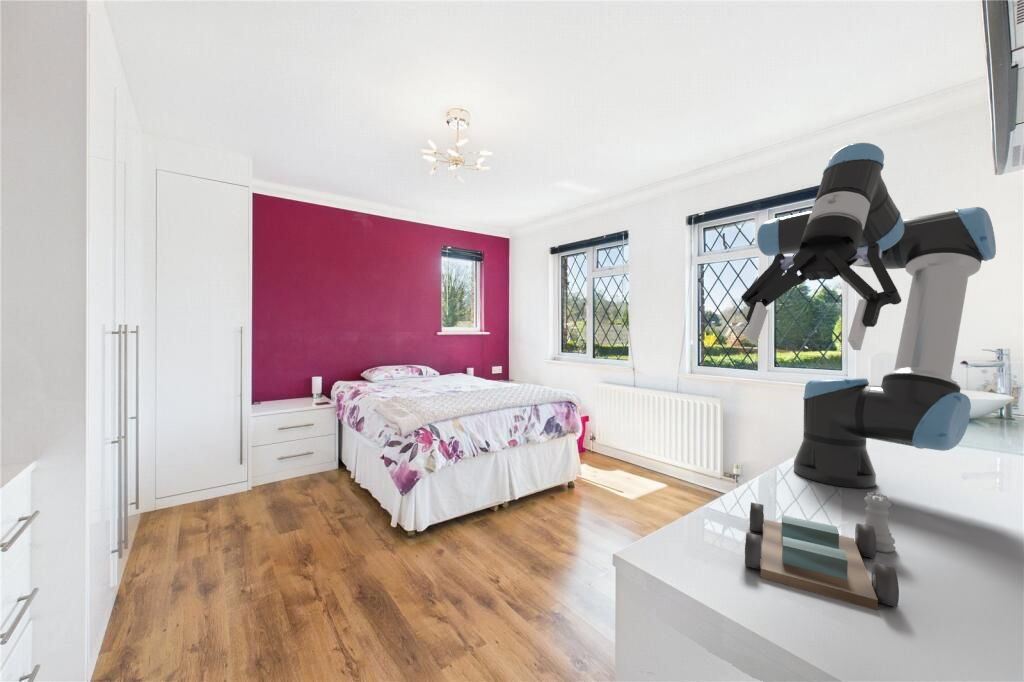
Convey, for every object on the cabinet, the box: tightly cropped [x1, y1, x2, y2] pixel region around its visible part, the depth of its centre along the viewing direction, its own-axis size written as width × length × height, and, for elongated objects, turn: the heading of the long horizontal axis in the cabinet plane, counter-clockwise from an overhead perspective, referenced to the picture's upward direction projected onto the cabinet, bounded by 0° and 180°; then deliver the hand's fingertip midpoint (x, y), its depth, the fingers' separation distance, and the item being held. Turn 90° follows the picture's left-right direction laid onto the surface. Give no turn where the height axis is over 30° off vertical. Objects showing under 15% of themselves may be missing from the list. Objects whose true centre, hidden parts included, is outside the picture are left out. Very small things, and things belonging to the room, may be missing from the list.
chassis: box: [744, 502, 900, 611], centre depth 60 cm, size 18×16×4 cm
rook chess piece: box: [863, 492, 897, 554], centre depth 65 cm, size 4×4×8 cm
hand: (797, 342), depth 62 cm, fingers open, 13 cm apart
